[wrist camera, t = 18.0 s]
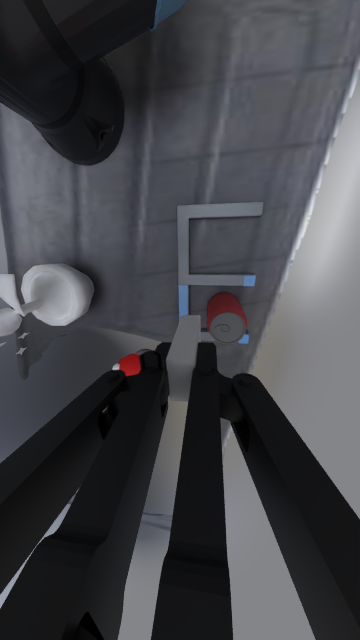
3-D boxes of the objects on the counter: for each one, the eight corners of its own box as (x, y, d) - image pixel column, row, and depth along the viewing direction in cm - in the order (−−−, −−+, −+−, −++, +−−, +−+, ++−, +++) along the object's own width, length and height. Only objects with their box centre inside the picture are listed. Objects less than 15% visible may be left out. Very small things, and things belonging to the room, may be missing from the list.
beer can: (208, 291, 43) (207, 308, 31) (241, 292, 42) (252, 310, 31) (207, 320, 45) (205, 346, 34) (237, 322, 44) (246, 349, 33)
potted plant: (89, 320, 49) (-20, 389, 26) (49, 287, 48) (-105, 329, 25) (118, 282, 45) (18, 324, 22) (75, 244, 43) (-82, 245, 20)
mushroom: (120, 366, 53) (96, 399, 41) (135, 332, 48) (112, 358, 37) (158, 384, 53) (143, 422, 42) (175, 352, 49) (164, 384, 38)
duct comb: (178, 207, 38) (176, 205, 36) (260, 204, 36) (263, 201, 34) (180, 335, 47) (179, 340, 45) (246, 338, 45) (248, 343, 43)
